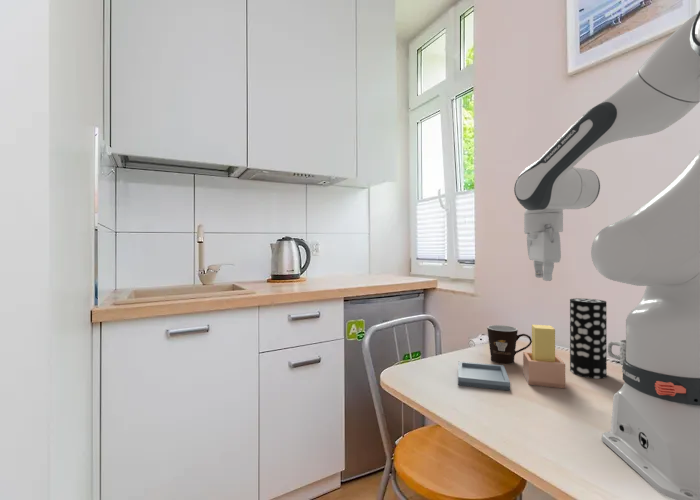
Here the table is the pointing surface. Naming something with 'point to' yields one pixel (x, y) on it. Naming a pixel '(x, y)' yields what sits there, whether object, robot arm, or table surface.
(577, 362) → the white-spotted black cylinder
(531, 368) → the pink open box
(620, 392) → the robot arm
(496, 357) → the coffee mug
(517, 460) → the table surface
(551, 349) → the peg
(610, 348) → the mug
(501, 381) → the tray
